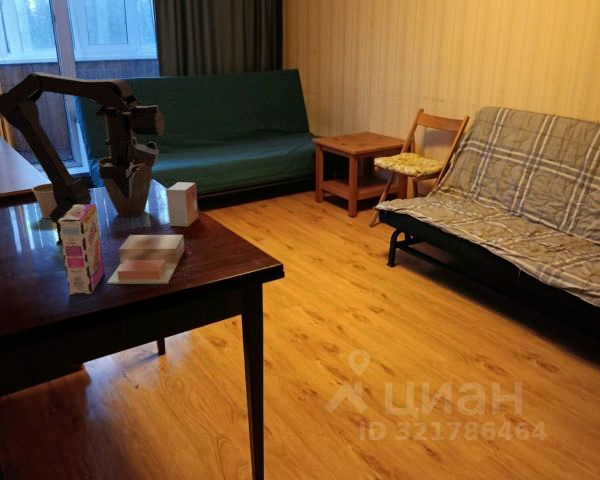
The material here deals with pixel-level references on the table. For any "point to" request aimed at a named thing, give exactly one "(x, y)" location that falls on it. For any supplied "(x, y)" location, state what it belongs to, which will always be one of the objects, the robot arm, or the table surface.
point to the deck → (152, 248)
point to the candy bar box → (81, 248)
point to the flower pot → (45, 198)
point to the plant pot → (138, 192)
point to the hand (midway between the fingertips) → (127, 197)
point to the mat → (163, 280)
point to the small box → (182, 204)
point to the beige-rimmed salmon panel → (141, 269)
